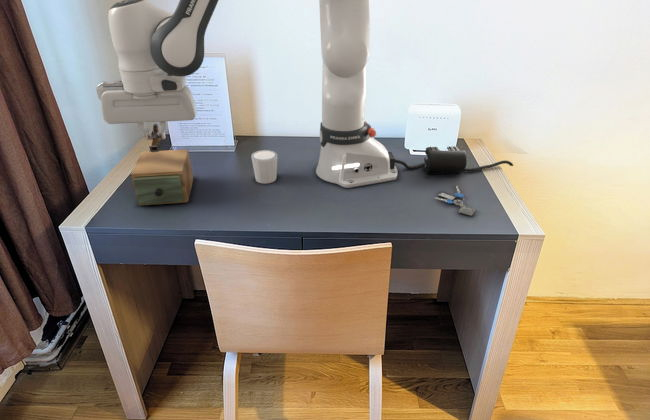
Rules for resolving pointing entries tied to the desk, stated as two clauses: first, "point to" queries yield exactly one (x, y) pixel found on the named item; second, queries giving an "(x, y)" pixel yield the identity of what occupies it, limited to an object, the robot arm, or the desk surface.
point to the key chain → (463, 208)
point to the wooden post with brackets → (155, 139)
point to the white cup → (265, 166)
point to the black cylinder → (445, 160)
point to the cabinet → (165, 167)
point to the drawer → (159, 189)
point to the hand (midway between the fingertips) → (156, 138)
